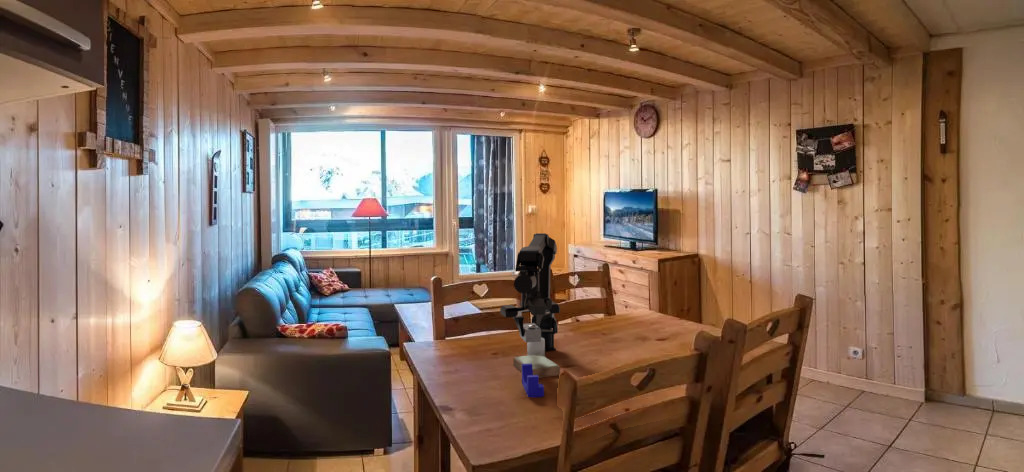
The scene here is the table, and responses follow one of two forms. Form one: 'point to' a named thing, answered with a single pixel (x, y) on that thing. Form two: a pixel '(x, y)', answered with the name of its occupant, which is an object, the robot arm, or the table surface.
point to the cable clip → (531, 382)
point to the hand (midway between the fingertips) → (530, 335)
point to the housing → (531, 333)
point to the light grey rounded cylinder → (536, 347)
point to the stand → (538, 365)
